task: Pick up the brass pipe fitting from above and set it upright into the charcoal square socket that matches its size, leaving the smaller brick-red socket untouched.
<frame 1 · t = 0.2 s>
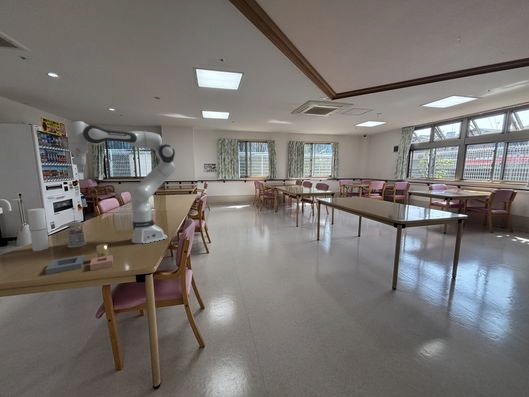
hand: (81, 172, 131), 47 cm above the table, tool pointing down, fingers open, 8 cm apart
small socket: (102, 265, 114), on the table
socket block: (66, 266, 112), on the table
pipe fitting: (103, 259, 121), on the table
french press: (75, 245, 143), on the table
cylindrical container: (41, 249, 137), on the table
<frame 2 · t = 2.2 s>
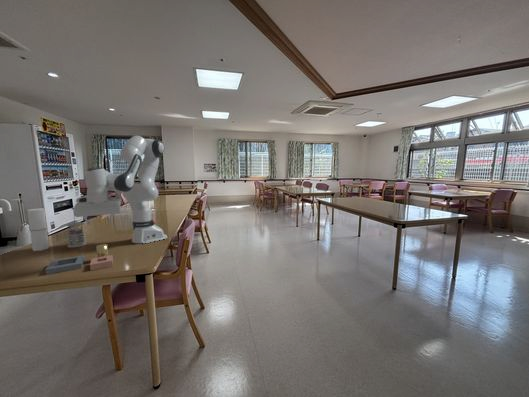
hand: (99, 223, 118), 20 cm above the table, tool pointing down, fingers open, 8 cm apart
nothing on the table moved.
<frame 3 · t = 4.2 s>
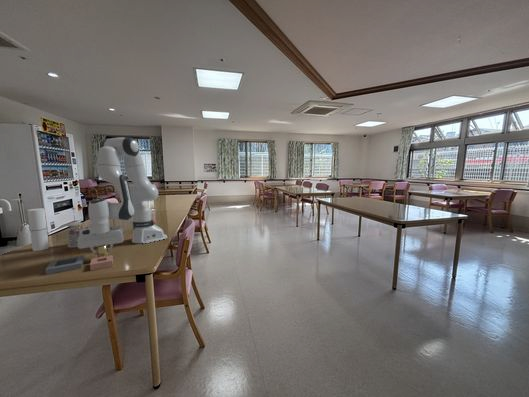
hand: (102, 252, 121), 4 cm above the table, tool pointing down, fingers closed on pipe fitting, 5 cm apart
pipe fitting: (103, 259, 121), on the table, touching gripper
everything else where it was.
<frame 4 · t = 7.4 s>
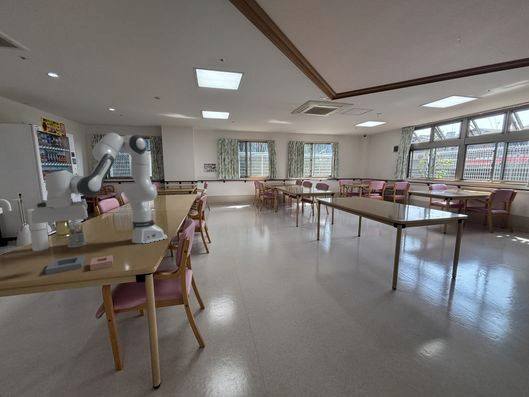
hand: (62, 229, 109), 19 cm above the table, tool pointing down, fingers closed on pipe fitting, 5 cm apart
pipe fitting: (63, 236, 110), point 16 cm above the table, touching gripper
everything else where it was.
when the fingers open (4 cm above the table, at t = 10.5 s): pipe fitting stays where it is, resting in socket block.
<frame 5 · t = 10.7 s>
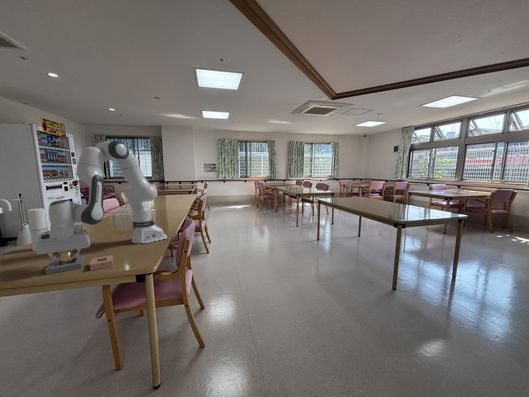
hand: (66, 258, 111), 4 cm above the table, tool pointing down, fingers open, 7 cm apart
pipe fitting: (67, 266, 112), resting in socket block
everything else where it was.
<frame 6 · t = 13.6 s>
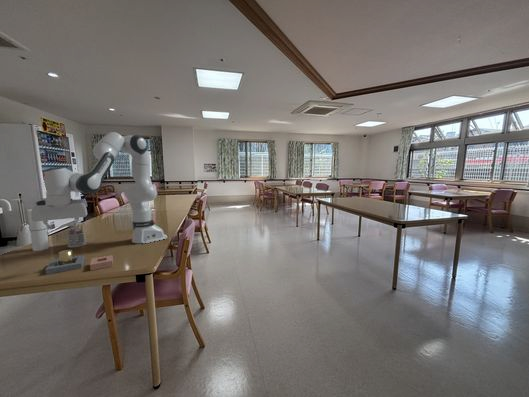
hand: (62, 227, 109), 20 cm above the table, tool pointing down, fingers open, 8 cm apart
nothing on the table moved.
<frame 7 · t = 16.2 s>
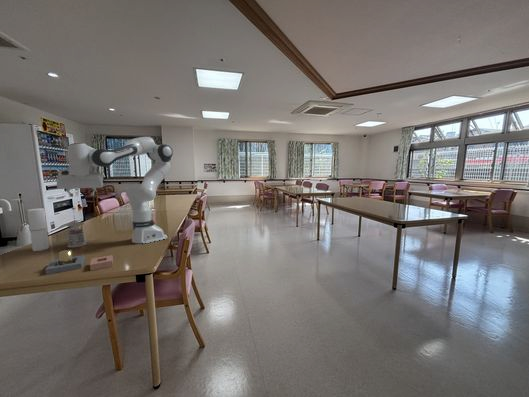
hand: (82, 196, 125), 34 cm above the table, tool pointing down, fingers open, 8 cm apart
nothing on the table moved.
at the end: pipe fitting 0.1 cm off-centre on the socket block, point 0.0 cm above the socket block's base; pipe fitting tilted 0°; the gripper is holding nothing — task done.
